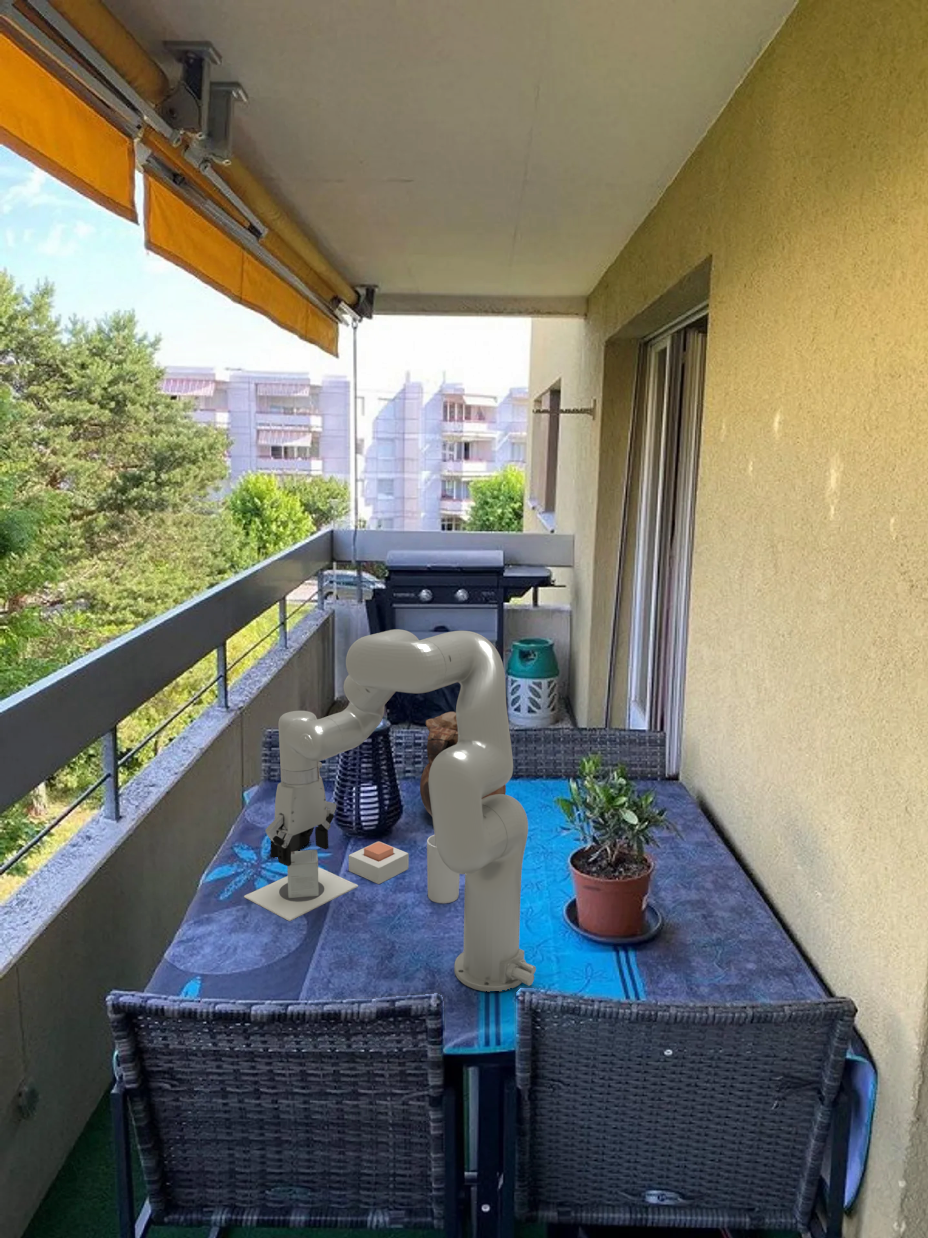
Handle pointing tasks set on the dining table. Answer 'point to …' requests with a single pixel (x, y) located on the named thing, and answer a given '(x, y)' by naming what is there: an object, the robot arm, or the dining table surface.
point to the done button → (378, 851)
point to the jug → (439, 739)
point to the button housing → (378, 865)
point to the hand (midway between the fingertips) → (303, 855)
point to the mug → (440, 876)
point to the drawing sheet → (291, 908)
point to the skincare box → (303, 874)
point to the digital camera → (294, 841)
